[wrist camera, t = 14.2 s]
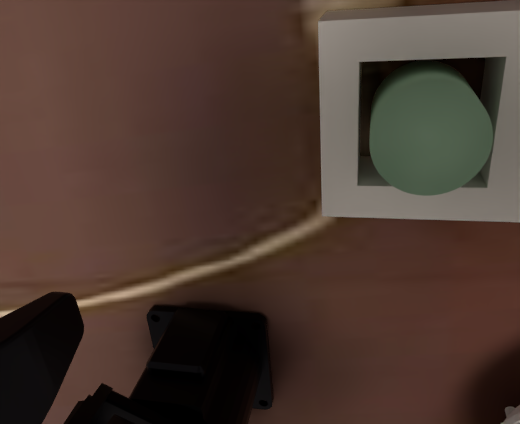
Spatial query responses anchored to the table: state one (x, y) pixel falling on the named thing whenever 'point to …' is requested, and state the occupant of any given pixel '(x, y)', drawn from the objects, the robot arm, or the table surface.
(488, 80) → the button housing
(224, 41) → the table surface
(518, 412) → the mechanical part
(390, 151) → the button
